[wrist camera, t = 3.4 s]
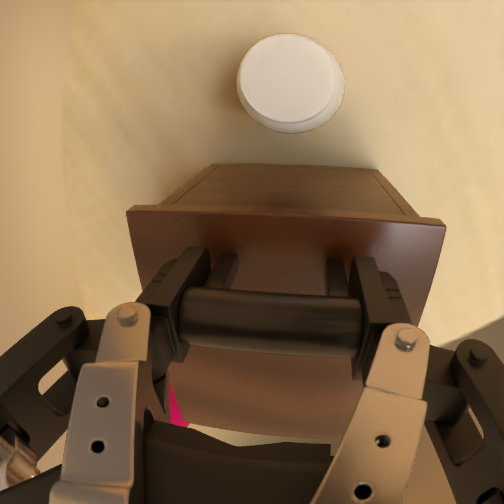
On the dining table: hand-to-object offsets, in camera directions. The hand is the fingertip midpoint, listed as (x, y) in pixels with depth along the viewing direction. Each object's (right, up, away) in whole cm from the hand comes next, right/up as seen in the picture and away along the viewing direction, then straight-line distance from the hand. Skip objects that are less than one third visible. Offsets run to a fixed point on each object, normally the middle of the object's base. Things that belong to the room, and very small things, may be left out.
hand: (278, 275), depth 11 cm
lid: (0, -4, +4) cm, 6 cm away
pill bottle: (+2, +12, +9) cm, 15 cm away
